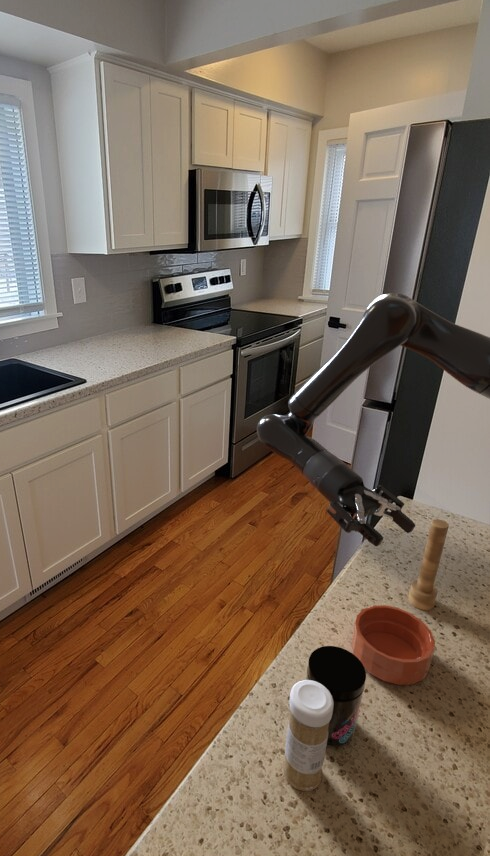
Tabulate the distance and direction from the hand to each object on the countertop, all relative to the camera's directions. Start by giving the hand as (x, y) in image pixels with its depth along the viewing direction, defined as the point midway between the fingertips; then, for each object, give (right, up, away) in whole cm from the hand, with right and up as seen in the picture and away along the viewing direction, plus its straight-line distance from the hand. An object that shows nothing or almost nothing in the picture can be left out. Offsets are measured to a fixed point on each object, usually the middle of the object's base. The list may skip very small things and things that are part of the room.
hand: (396, 535), depth 85 cm
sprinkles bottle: (-24, -23, -27) cm, 43 cm away
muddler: (+3, -11, -2) cm, 11 cm away
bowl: (-7, -16, -12) cm, 21 cm away
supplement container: (-19, -20, -21) cm, 35 cm away
